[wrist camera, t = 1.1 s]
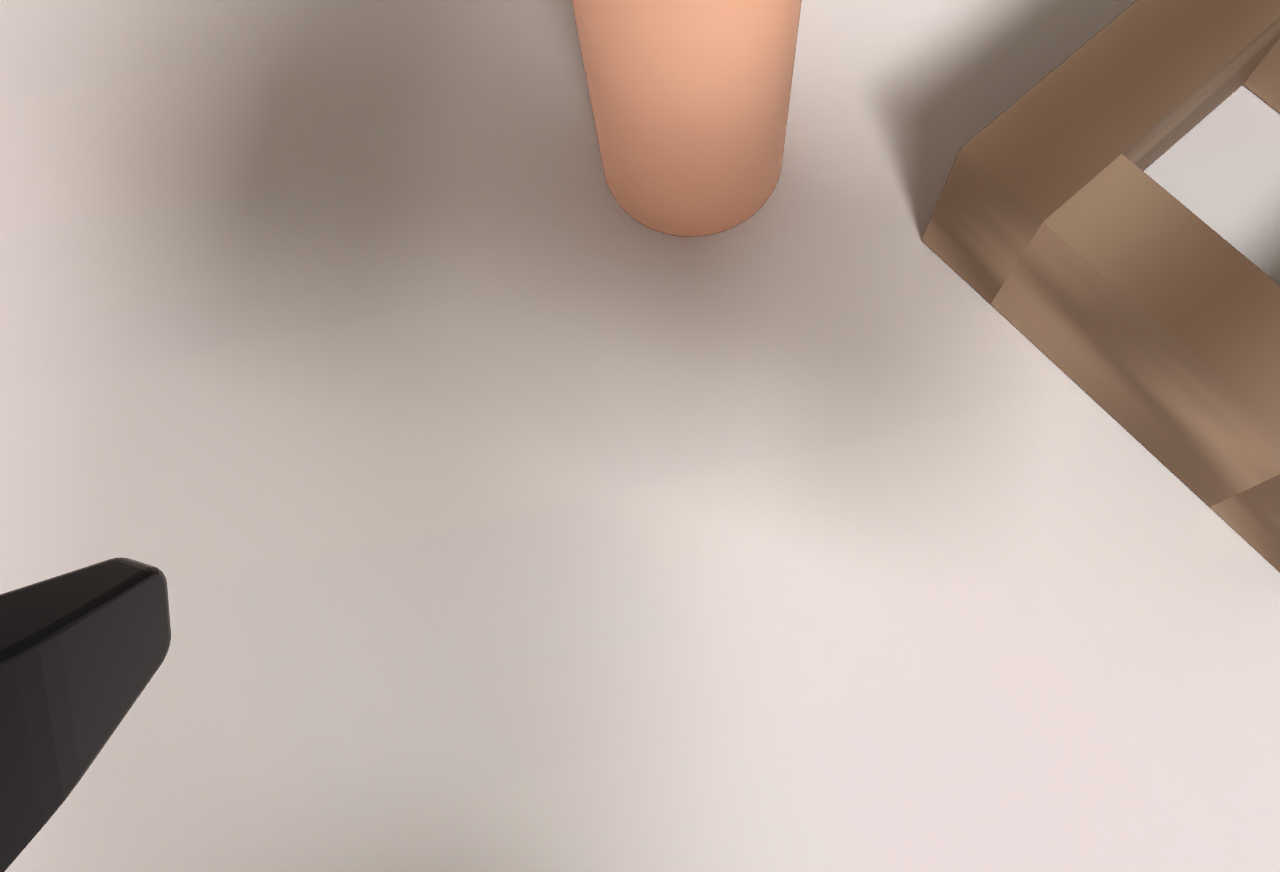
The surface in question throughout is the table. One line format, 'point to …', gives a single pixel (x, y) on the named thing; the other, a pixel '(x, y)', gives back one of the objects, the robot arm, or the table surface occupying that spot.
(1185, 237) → the socket
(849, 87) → the table surface
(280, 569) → the table surface
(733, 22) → the peg
